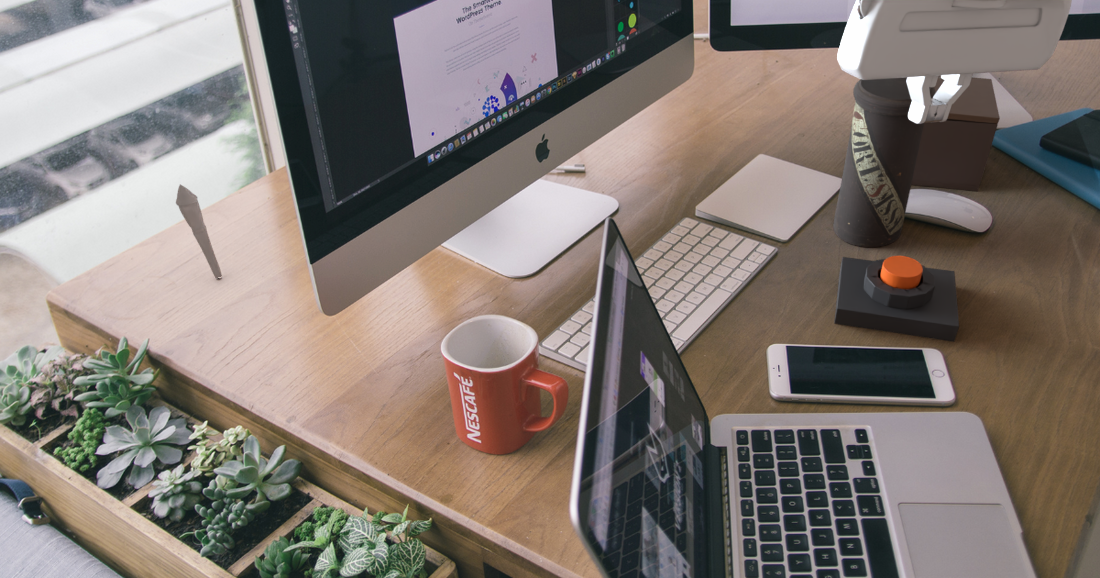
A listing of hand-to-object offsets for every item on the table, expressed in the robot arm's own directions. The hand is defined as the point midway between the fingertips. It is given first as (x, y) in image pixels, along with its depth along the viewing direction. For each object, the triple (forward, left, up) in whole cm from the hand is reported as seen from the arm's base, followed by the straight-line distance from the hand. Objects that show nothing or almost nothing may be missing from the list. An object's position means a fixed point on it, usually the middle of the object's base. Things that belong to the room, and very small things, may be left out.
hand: (926, 120), depth 71 cm
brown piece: (-25, -28, -14) cm, 40 cm away
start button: (-3, -2, -20) cm, 20 cm away
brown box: (-25, -28, -24) cm, 44 cm away
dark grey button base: (-3, -2, -24) cm, 24 cm away
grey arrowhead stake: (+72, -38, -24) cm, 85 cm away
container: (-9, -16, -24) cm, 30 cm away
